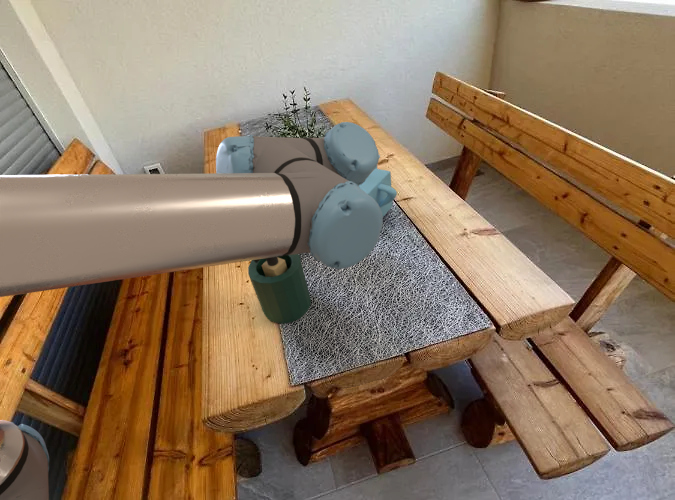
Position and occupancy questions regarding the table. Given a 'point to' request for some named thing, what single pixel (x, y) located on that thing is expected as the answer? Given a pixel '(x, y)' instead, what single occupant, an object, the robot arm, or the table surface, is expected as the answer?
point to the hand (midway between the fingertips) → (257, 252)
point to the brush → (274, 267)
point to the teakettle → (380, 189)
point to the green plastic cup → (281, 290)
